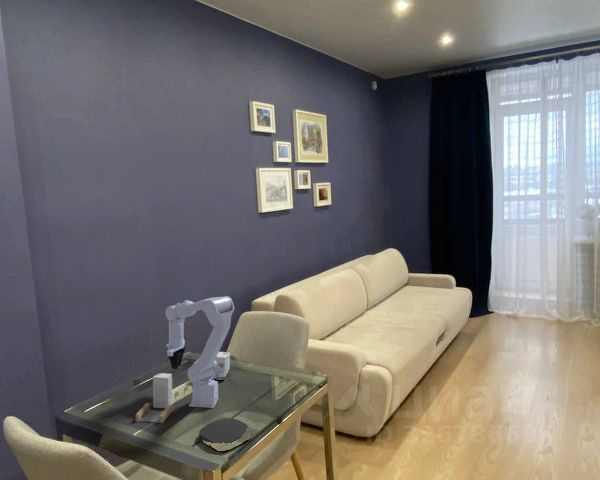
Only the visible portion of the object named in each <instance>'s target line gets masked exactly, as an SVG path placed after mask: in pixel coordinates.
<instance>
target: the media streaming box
mask: <svg viewBox="0 0 600 480" xmlns="http://www.w3.org/2000/svg"><path fill="white" fill-rule="evenodd" d="M248 426H249V425H248V424H247V423H246V422H243V421H241V420H239V419H237V418H231V417H230V418H229V417H227V418H226V417H225V418H219V419H217V420H213V421H212V422H211V423H207V424H206V425H204V426H203V427H202V428H201V429H200V430H199V431H198V439H200V440H202V441H205V442H211V443H220V444H221V443H223V442H224V443H226V444H227V443H232V442H234V441H236V440H238V439H240V438H241V437H242V435H243V434H244V433H245V432H246V429H247V427H248ZM200 440H199V441H200Z"/></svg>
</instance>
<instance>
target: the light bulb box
mask: <svg viewBox="0 0 600 480" xmlns="http://www.w3.org/2000/svg"><path fill="white" fill-rule="evenodd" d="M215 360H216V362H217V367H216V373H215V375H214V376H213V378H216V377H225V376H226V374H227V373H228V371H229V369H231V367H230V365H231V364H230V363H231V353H230V352H227V351H226V352H225V351H219V352H218V354H217V357H216V359H215Z"/></svg>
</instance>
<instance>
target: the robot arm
mask: <svg viewBox="0 0 600 480" xmlns="http://www.w3.org/2000/svg"><path fill="white" fill-rule="evenodd" d="M234 305H235V304H234V302H233V300H232V298H231V297H230V296H228V295H225V296H224V295H223V296H216V297H209V298H206V299H202V300H201V299H200V300H199V301H196V302H193V301H191V300H189V299H188V300H187V299H186V300H183V302H182V303H181V302H178V303H176V304H174V305H170V306H169V305H168V306H167V307H166V309H165V317H166V318H167V320H168V343H167V344H166V345H165V347H166V348H167V351H166V356H167V357H168V359H169V362H170V365H171V369H172V370H177V369H178V368H179V367H180V366H181V365H182V360H183V357H184V353H185V351H186V348H187V347H185V343H186V341H185V339H184V334H185V332H184V330H185V328H184V327H185V326H184V323H185V321H186V318H189V317H192V316H194V315H195V314H196V313H197V312H198V311H201V310H202V312H203V313H204V314H205V316H206V318H207V320H208V322H209V323H210V325H211V326H212V327H213V328H212V329H211V330H212V331H211V333H210V335H209V337H208V339H207V341H206V343H205V346H204V347H203V348H204V349H202V353H201V355H200V357H199V358H198V359H197V360H196V361H194V362H193V363H192V365H191V366H190V367H189V368H188V369H187V378H188V379H189V381H190V382H191V383H192V400H191V402H190V403H189V405H188V407H193V408H206V409H207V408H210V409H214V408H215V406H216V404H217V403H218V400H219V383H218V382H219V381H215V380H212V379H213V376H214V375H215V373H216V367H217V362H216V360H215V359H216V357H217V354H218V352H220V350H221V348H222V346H223V343H224V341H225V340H226V337H227V335H228V333H229V332H230V331H229V330H230V328H231V321H232V315H233V314H234V311H235V310H236V309H235V306H234Z"/></svg>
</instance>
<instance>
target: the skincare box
mask: <svg viewBox="0 0 600 480" xmlns="http://www.w3.org/2000/svg"><path fill="white" fill-rule="evenodd" d="M152 393H153V394H152V396H153V397H152V399H153V404H152V405H153V408H157V409H166V407H167V406H168V405H169V404H172V405H173V373H166V372H165V373H163V372H157V373H156V374H154V376H152Z"/></svg>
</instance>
